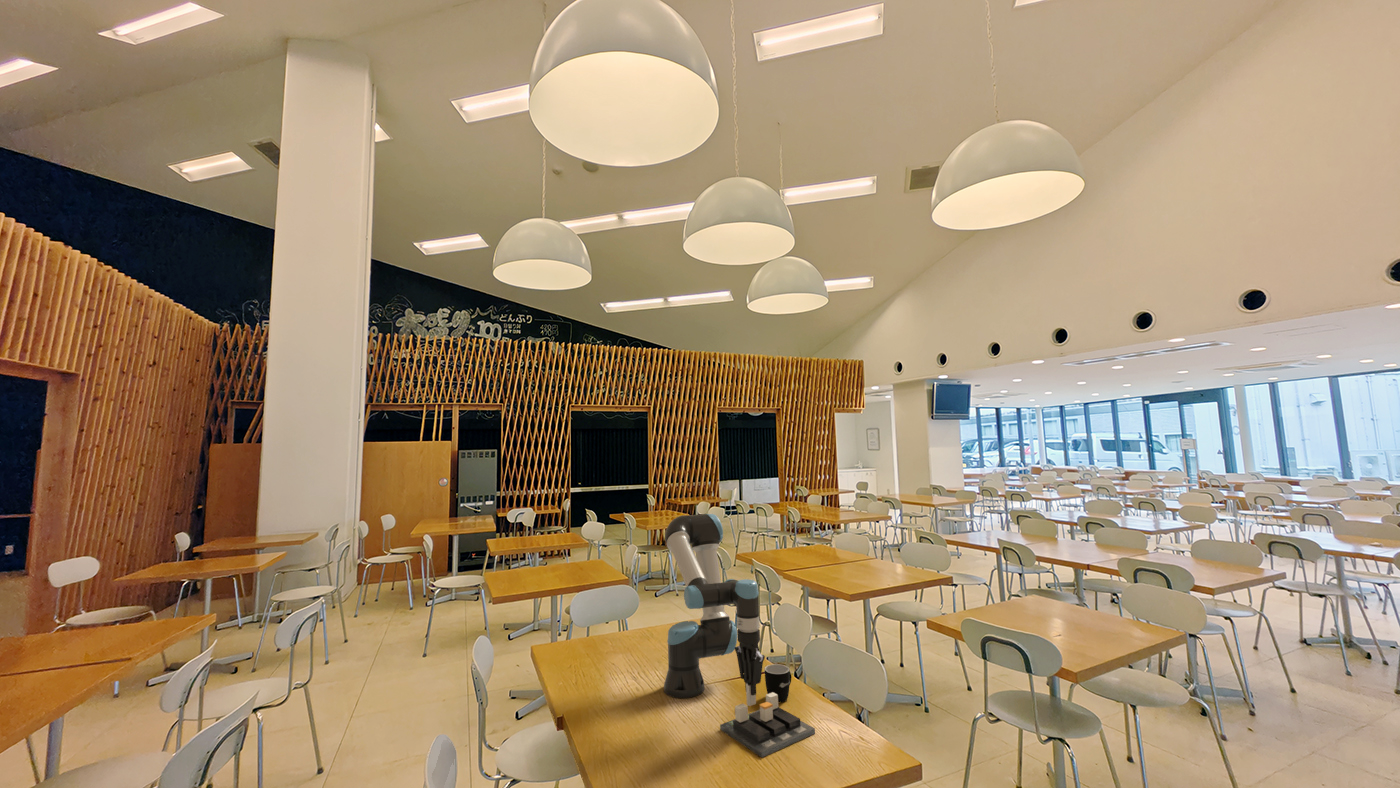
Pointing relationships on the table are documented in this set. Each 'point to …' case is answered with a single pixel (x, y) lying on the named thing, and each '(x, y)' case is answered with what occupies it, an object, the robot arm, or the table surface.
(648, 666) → the table surface
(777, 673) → the mug
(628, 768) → the table surface
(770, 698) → the breaker far
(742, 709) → the block
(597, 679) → the table surface
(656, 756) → the table surface
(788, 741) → the panel
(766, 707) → the block
